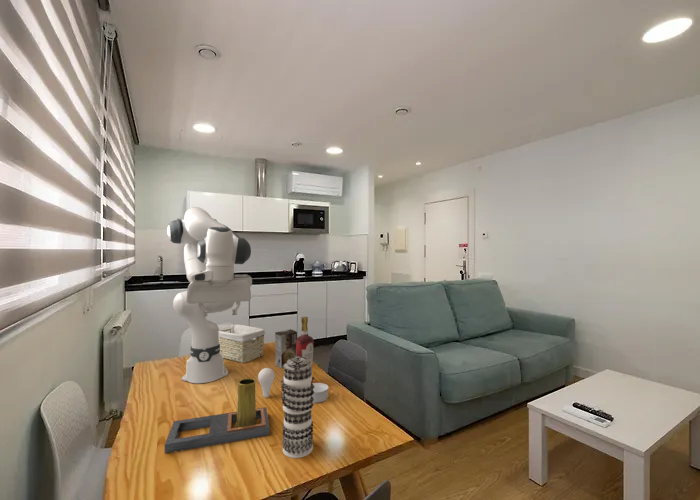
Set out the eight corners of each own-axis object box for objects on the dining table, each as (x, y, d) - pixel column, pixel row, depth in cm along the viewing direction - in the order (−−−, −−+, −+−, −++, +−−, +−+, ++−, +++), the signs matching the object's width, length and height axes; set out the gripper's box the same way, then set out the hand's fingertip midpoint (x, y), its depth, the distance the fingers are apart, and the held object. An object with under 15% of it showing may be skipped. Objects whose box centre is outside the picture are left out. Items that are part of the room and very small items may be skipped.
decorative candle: (283, 439, 95) (283, 354, 95) (315, 438, 96) (314, 353, 96) (278, 459, 86) (278, 365, 86) (313, 458, 87) (313, 364, 87)
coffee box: (291, 360, 165) (291, 329, 165) (297, 364, 160) (297, 331, 160) (274, 364, 159) (274, 331, 159) (281, 368, 154) (281, 334, 154)
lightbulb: (270, 401, 120) (270, 371, 120) (255, 400, 121) (255, 370, 121) (277, 394, 126) (277, 366, 126) (262, 393, 127) (262, 365, 127)
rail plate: (173, 429, 101) (173, 420, 101) (266, 414, 110) (266, 406, 110) (164, 453, 89) (164, 443, 89) (269, 435, 98) (269, 425, 98)
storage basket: (266, 356, 173) (266, 328, 173) (242, 365, 159) (242, 335, 159) (235, 349, 185) (235, 323, 185) (210, 357, 171) (210, 329, 171)
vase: (239, 434, 98) (240, 386, 98) (233, 425, 103) (234, 380, 103) (259, 427, 102) (260, 382, 102) (251, 419, 107) (252, 376, 107)
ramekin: (300, 398, 123) (300, 386, 123) (319, 391, 129) (319, 380, 129) (313, 406, 116) (313, 394, 116) (333, 399, 122) (333, 387, 122)
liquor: (305, 379, 140) (305, 314, 140) (317, 384, 135) (317, 317, 136) (292, 385, 135) (292, 317, 135) (303, 389, 130) (303, 319, 130)
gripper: (251, 273, 116) (251, 312, 116) (188, 274, 110) (188, 315, 110) (252, 274, 110) (252, 315, 110) (185, 276, 104) (185, 319, 104)
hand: (219, 315), depth 110 cm, fingers open, 8 cm apart
